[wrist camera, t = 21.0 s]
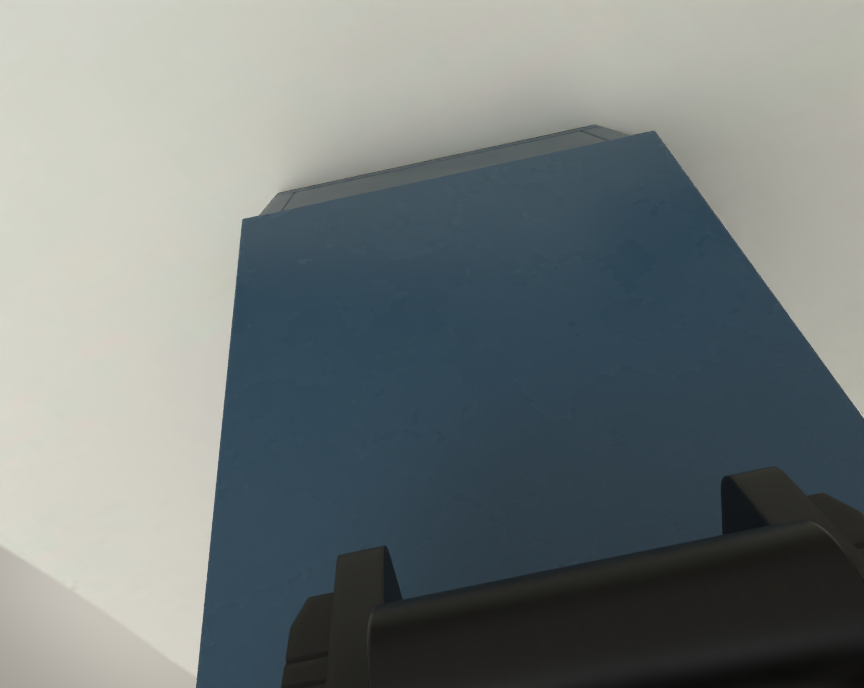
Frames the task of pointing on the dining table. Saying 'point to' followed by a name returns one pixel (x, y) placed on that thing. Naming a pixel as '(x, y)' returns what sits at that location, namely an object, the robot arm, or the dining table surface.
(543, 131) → the dining table surface
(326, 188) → the toolbox
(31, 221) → the dining table surface
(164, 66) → the dining table surface
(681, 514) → the toolbox lid
